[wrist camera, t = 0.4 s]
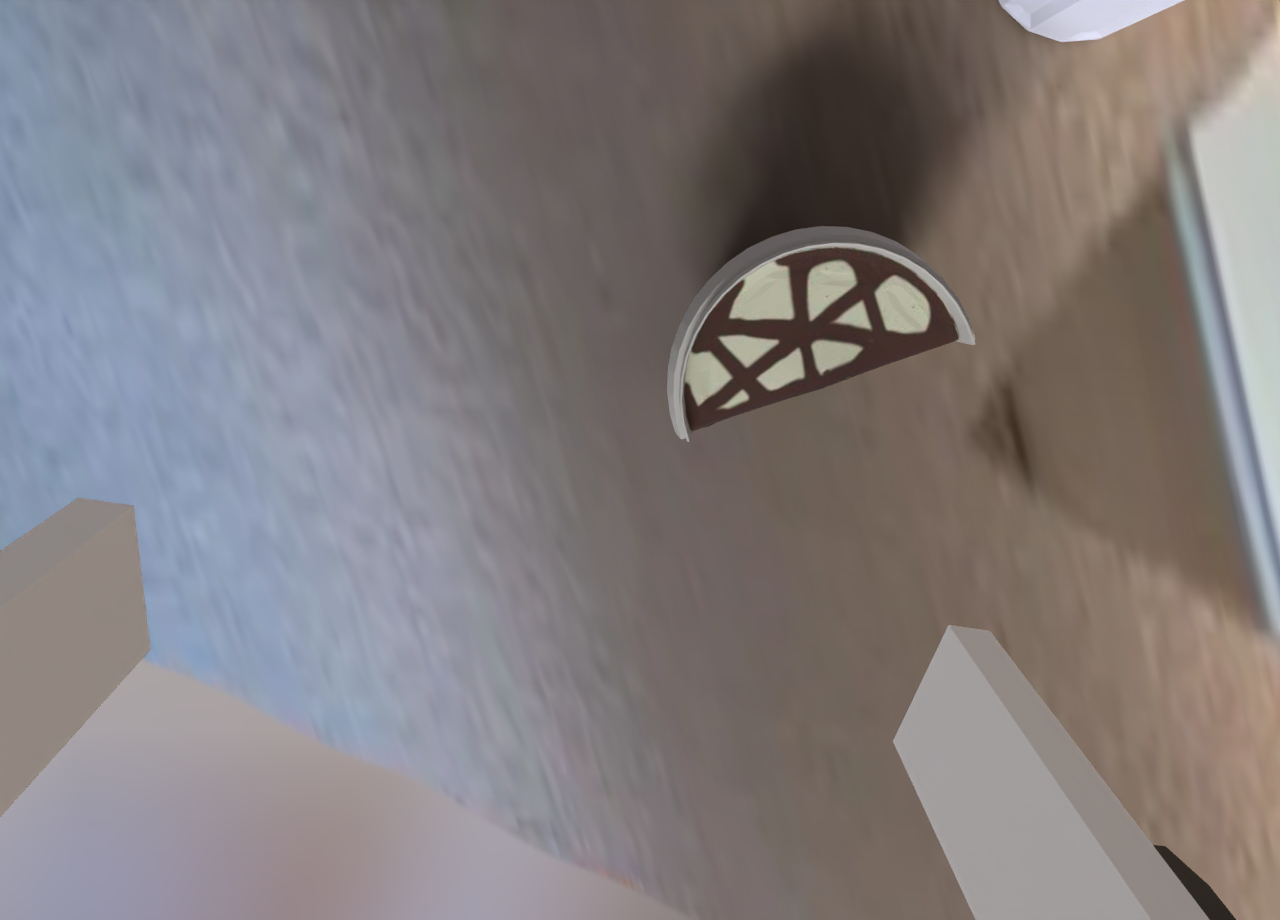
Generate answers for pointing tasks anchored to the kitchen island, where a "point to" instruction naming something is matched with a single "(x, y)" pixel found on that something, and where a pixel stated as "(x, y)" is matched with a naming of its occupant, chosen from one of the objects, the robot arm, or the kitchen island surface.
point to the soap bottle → (1081, 16)
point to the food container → (804, 321)
